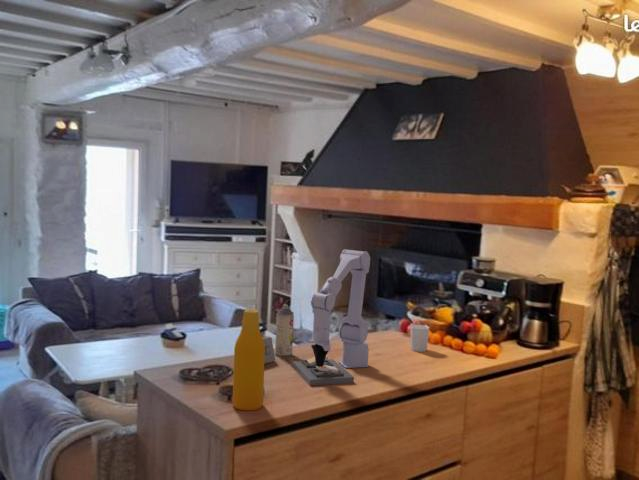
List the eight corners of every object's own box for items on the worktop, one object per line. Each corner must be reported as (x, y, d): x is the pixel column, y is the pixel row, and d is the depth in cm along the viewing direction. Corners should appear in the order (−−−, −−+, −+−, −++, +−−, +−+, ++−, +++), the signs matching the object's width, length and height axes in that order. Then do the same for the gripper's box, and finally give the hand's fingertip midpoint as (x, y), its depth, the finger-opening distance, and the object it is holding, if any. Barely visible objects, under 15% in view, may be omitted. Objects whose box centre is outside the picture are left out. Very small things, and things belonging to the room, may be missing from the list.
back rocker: (325, 357, 222) (323, 352, 221) (328, 360, 218) (327, 356, 217) (307, 364, 220) (306, 359, 220) (311, 367, 216) (309, 363, 216)
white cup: (429, 352, 250) (430, 329, 249) (410, 351, 250) (412, 328, 249) (426, 347, 258) (427, 325, 257) (408, 346, 258) (409, 324, 257)
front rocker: (333, 371, 211) (334, 366, 211) (337, 374, 207) (338, 370, 207) (315, 368, 209) (316, 363, 209) (319, 371, 205) (320, 366, 205)
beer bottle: (254, 413, 174) (257, 315, 172) (226, 407, 177) (229, 311, 175) (268, 403, 183) (272, 310, 180) (241, 398, 186) (245, 306, 184)
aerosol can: (291, 357, 233) (293, 307, 232) (273, 356, 234) (276, 306, 232) (292, 352, 240) (295, 303, 239) (276, 351, 241) (278, 302, 239)
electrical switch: (258, 366, 220) (257, 341, 220) (248, 364, 223) (247, 340, 223) (275, 361, 227) (274, 337, 227) (265, 359, 230) (265, 336, 230)
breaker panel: (332, 364, 227) (332, 354, 226) (353, 382, 206) (354, 372, 206) (291, 366, 222) (292, 356, 221) (309, 385, 201) (310, 374, 200)
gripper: (304, 322, 212) (302, 360, 213) (317, 332, 198) (315, 372, 199) (323, 322, 214) (321, 359, 215) (336, 332, 200) (334, 371, 201)
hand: (319, 365), depth 207 cm, fingers closed, pressing on front rocker
